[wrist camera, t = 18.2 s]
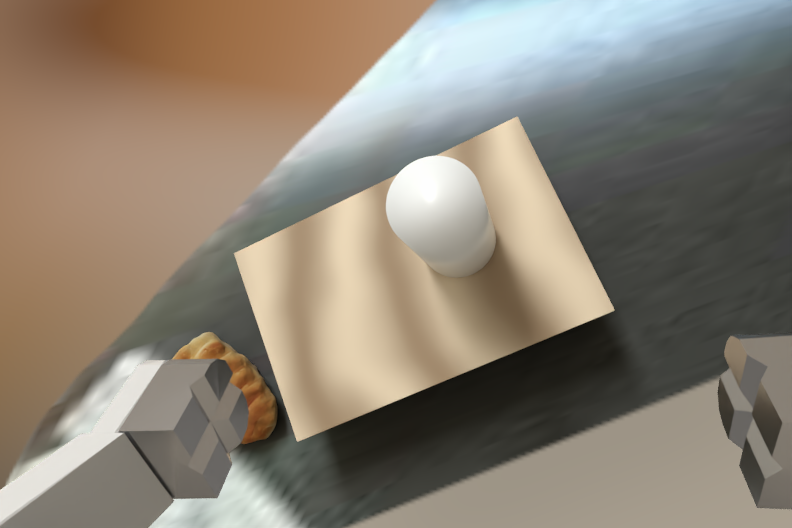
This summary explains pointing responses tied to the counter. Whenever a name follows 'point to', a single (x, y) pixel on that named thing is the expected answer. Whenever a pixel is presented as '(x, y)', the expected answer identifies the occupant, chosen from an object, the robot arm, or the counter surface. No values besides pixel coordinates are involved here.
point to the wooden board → (414, 291)
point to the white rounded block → (442, 215)
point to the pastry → (239, 383)
